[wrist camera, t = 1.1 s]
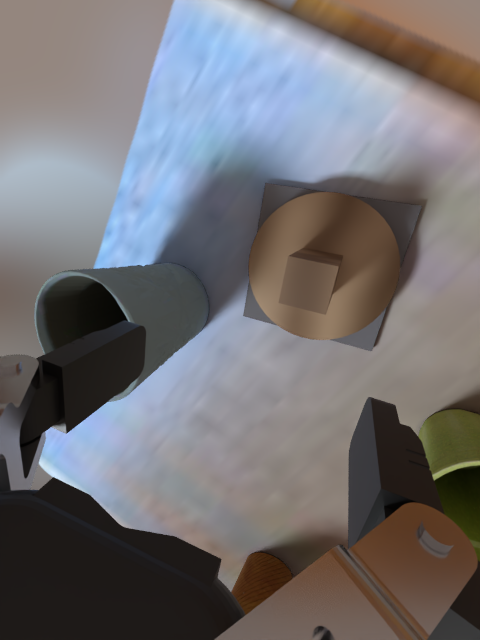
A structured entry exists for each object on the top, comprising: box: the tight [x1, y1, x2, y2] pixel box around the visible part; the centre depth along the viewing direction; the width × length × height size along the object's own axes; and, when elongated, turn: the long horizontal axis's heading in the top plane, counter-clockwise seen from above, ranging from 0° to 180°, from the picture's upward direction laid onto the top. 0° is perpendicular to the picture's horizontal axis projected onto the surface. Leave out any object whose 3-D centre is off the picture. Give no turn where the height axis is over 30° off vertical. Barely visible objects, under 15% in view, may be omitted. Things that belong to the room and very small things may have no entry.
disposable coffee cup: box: [231, 552, 292, 615], centre depth 35 cm, size 10×10×12 cm
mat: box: [243, 183, 422, 351], centre depth 27 cm, size 12×12×1 cm
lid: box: [249, 192, 400, 340], centre depth 23 cm, size 12×12×7 cm
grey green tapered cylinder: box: [34, 263, 209, 402], centre depth 28 cm, size 10×10×12 cm
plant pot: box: [419, 409, 480, 561], centre depth 23 cm, size 9×9×9 cm
